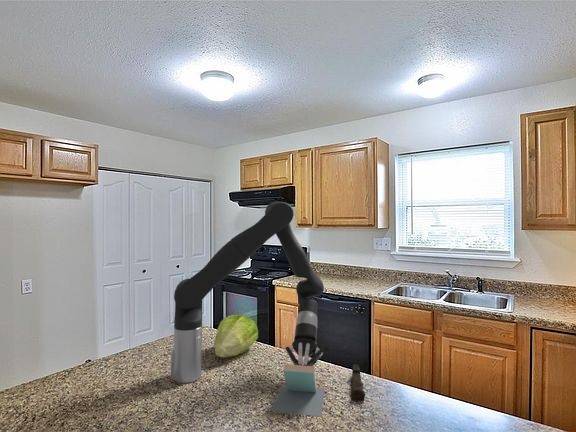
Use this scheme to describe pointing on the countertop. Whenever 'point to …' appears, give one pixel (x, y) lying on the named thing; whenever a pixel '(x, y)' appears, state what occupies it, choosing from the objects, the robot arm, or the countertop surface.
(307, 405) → the mat
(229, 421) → the countertop surface
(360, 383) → the hand tool
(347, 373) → the countertop surface
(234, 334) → the lettuce
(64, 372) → the countertop surface
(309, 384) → the tile
